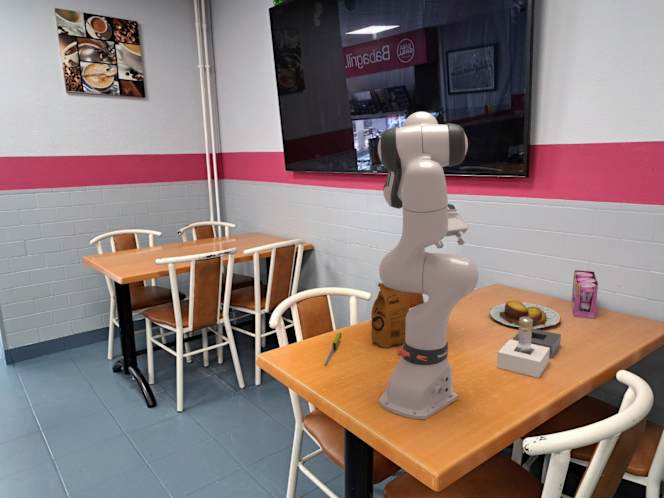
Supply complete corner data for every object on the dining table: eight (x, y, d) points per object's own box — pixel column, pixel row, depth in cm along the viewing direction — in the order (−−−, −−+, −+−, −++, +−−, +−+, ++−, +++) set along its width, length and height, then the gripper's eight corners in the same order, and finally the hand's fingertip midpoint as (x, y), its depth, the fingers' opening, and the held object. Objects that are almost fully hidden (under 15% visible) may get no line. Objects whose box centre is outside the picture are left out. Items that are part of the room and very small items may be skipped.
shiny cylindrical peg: (527, 369, 141) (530, 322, 138) (515, 365, 143) (518, 319, 140) (530, 364, 144) (534, 318, 141) (518, 361, 146) (521, 316, 143)
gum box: (595, 320, 180) (599, 286, 177) (572, 317, 183) (575, 284, 180) (591, 301, 201) (594, 271, 198) (571, 299, 204) (573, 269, 202)
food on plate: (574, 324, 177) (575, 308, 175) (527, 337, 166) (528, 320, 164) (520, 305, 199) (521, 290, 197) (475, 315, 188) (476, 300, 187)
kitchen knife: (326, 373, 144) (326, 364, 143) (322, 372, 144) (322, 364, 143) (341, 339, 165) (341, 331, 164) (338, 339, 165) (338, 331, 164)
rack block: (538, 378, 136) (539, 362, 135) (497, 367, 143) (497, 352, 142) (548, 362, 145) (549, 347, 144) (509, 353, 152) (509, 339, 151)
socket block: (551, 358, 148) (552, 346, 147) (512, 349, 155) (513, 338, 154) (560, 345, 157) (561, 334, 157) (522, 337, 165) (523, 326, 164)
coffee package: (367, 341, 164) (366, 280, 160) (393, 332, 171) (394, 274, 167) (385, 350, 156) (385, 287, 152) (412, 341, 163) (413, 280, 159)
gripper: (412, 209, 153) (432, 243, 147) (459, 204, 163) (479, 236, 156) (404, 221, 158) (422, 254, 151) (450, 216, 167) (469, 247, 161)
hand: (451, 245), depth 154 cm, fingers open, 8 cm apart
